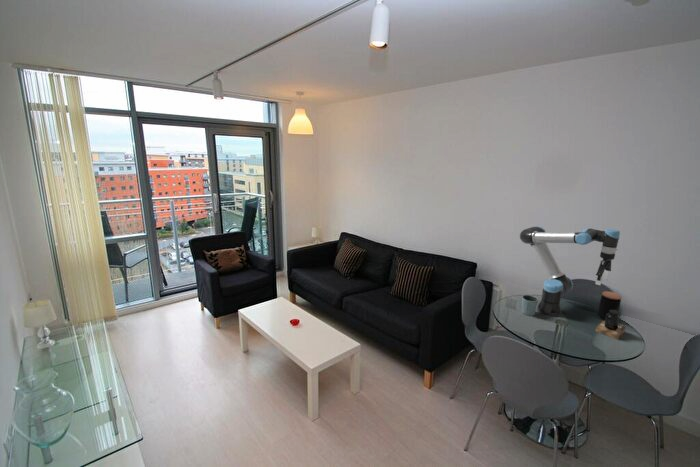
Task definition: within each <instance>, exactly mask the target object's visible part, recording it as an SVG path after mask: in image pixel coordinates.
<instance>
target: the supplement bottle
mask: <svg viewBox="0 0 700 467" xmlns="http://www.w3.org/2000/svg"><path fill="white" fill-rule="evenodd" d="M619 315H620V313H619V310H618V311H616V310H609V313H608V314H607V315H606V319H605V320H604V321H605V324H604V326H605V327H606V328H607V329H610V330H617V328H618V326H619V323H620V316H619Z"/></svg>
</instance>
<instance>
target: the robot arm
mask: <svg viewBox="0 0 700 467" xmlns="http://www.w3.org/2000/svg"><path fill="white" fill-rule="evenodd" d="M620 235H621V232H620V230H619V229H616V228H606V229H605V230H600V229H596V228H595V229H594V228H588V227H586V228H584V229H583V230H582V231H581V232H578V231H577V232H576V231H574V232H572V231H571V232H569V231H568V232H567V231H563V232H562V231H555V232H554V231H552V232H550V231H548V232H547V231H546V229H544V228H543V227H541V226H538V225H537V226H531V227H528V228H524V229H523V230H521V232H520V233H519V239H520V240H521V242H522V243H524V244H527V245H530V247H532V248H534V250H535V252H536V253H537V256H538V257H539V260H540V261H541V263H542V265H543V267H544V269H545V271H546V273H547V275H548V279H546V280H545V281H544V282H543V288H542V292H541V299H540V301H538V303H537V306H536V311H537V312H539V313H540V314H541V315H545V316H548V317H559V316H561V314H562V308H561V304H560V303H561V299H562V298H561V297H562V296H564V295H566V294H569V293H570V292H571V291H572V290H573V288H574V283H573V281H572V279H571V278H570V277H567V275H566V274H565V273H563V272H562V271H561V269H560V267H559V265H558V262H556V259H555V258H554V255H553V254H552V252H551V250H550V248H549V246H548V244H549V243H550V244H578V245H581V246H583V245H584V246H585V245H588V244H591V243H592V242H599V243H602V245H601V250H600V255H599V258H601V259H602V260H600V263H599V266H598V269H597V271H596V273H595V276H596V280H595V283H594V284H595V285H598V286H602V285H601V284H602V281H603V280H605V281H608V278H609V275H610V272H611V271H612V260H615V257H616V252H617V251H618V249H617V247H618V244H619V239H620Z"/></svg>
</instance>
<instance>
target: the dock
mask: <svg viewBox="0 0 700 467" xmlns="http://www.w3.org/2000/svg"><path fill="white" fill-rule="evenodd" d="M604 324H605V320H602V321H601V322H600V323H599V324H598V325H597V326H596V327H595V332H596V333H600V334H601V335H604V336H607V337H610V338H612V339H615V340H617V341H618V340H619V339H620V338H621V337H622V336H623V334H624V333H625V331H626V325H624V324H623V325H622V326H619V325H618V328H617V330H610V329H607V328H606V327H605V326H604Z"/></svg>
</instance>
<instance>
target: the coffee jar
mask: <svg viewBox="0 0 700 467" xmlns="http://www.w3.org/2000/svg"><path fill="white" fill-rule="evenodd" d="M601 293H602V294H601V296H600V301H599V304H598V309H597V317H598V316H599V317H600V319H601V318H602V319H601V320H602V321H605V319H606V315H607V314H608V313H609V310H616V311H618V312H619V310H620V305H621V301H622V300H621V299H622V296H621V295H620V294H618V293H617V292H614V291H607V290H606V291H602V292H601ZM599 317H598V318H599Z"/></svg>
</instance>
